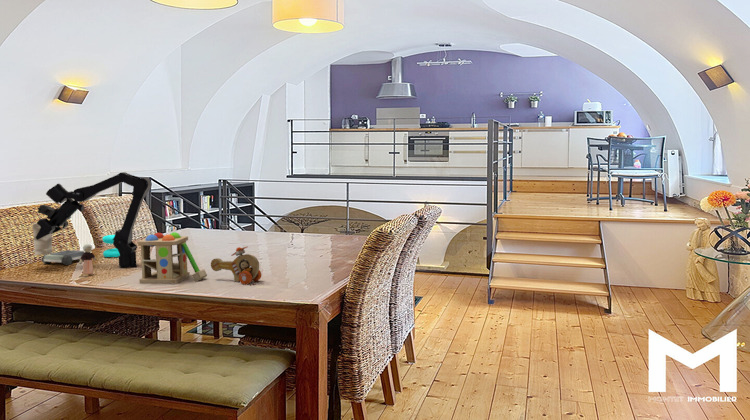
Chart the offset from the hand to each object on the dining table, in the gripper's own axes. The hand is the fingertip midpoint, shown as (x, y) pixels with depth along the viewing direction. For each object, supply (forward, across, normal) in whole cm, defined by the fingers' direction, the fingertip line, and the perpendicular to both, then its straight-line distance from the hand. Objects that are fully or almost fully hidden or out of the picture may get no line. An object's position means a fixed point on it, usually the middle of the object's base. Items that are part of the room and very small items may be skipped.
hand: (39, 237), depth 248 cm
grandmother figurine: (-8, +18, +27) cm, 34 cm away
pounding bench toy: (-34, +32, +53) cm, 70 cm away
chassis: (+6, -15, +13) cm, 21 cm away
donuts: (-6, -29, +24) cm, 39 cm away
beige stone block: (+4, 0, +6) cm, 7 cm away
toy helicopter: (-50, +39, +70) cm, 95 cm away
